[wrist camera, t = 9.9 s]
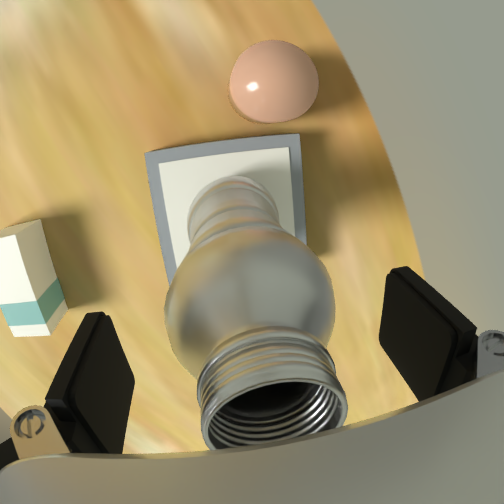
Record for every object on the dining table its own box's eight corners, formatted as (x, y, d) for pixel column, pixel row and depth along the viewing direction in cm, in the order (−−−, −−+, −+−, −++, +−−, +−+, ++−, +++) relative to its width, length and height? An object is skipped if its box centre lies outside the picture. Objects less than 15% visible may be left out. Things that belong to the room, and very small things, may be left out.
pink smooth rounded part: (224, 61, 24) (227, 43, 18) (293, 57, 24) (313, 40, 19) (231, 127, 26) (236, 125, 20) (300, 121, 26) (322, 119, 21)
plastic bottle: (287, 198, 26) (446, 365, 7) (242, 266, 27) (295, 497, 9) (217, 155, 24) (232, 250, 5) (174, 229, 25) (107, 453, 7)
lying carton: (5, 227, 26) (-22, 243, 21) (41, 218, 27) (15, 234, 22) (33, 312, 30) (13, 337, 25) (68, 309, 30) (50, 335, 25)
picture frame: (151, 150, 26) (144, 153, 23) (290, 133, 27) (299, 133, 24) (174, 278, 30) (171, 294, 27) (299, 261, 31) (308, 274, 28)
